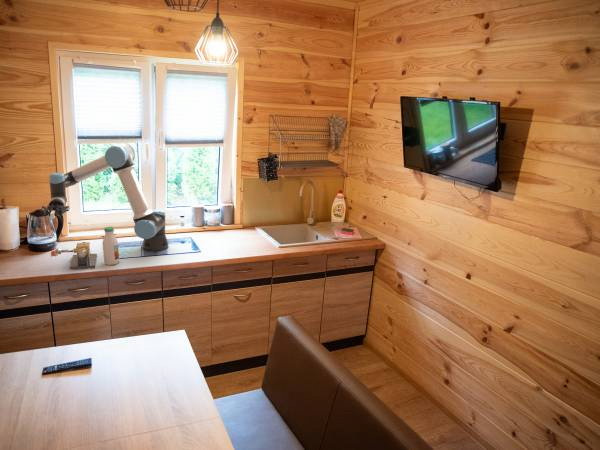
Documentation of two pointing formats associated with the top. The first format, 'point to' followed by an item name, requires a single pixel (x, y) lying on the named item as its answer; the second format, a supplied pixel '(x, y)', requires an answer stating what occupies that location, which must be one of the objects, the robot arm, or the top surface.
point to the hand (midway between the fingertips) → (52, 216)
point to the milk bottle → (110, 247)
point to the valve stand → (83, 257)
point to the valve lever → (59, 252)
